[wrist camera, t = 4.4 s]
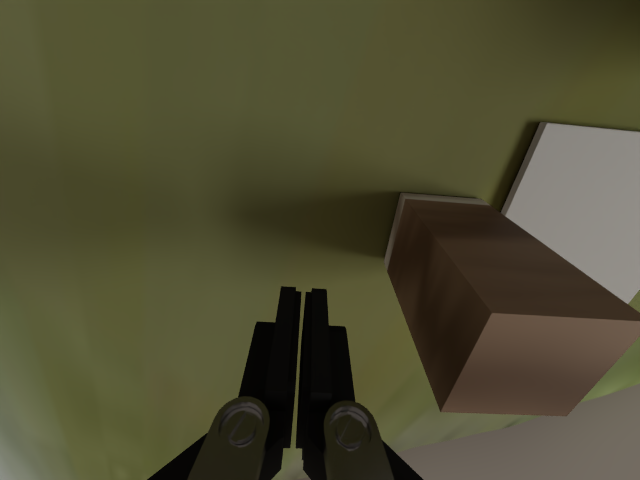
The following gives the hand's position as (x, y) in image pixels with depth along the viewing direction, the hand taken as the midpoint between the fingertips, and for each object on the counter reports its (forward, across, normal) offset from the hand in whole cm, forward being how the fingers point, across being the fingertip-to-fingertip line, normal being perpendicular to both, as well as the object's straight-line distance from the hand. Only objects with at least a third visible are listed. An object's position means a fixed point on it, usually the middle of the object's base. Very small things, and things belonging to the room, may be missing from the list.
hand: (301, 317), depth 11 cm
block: (+8, -8, 0) cm, 11 cm away
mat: (+8, -18, 0) cm, 20 cm away
